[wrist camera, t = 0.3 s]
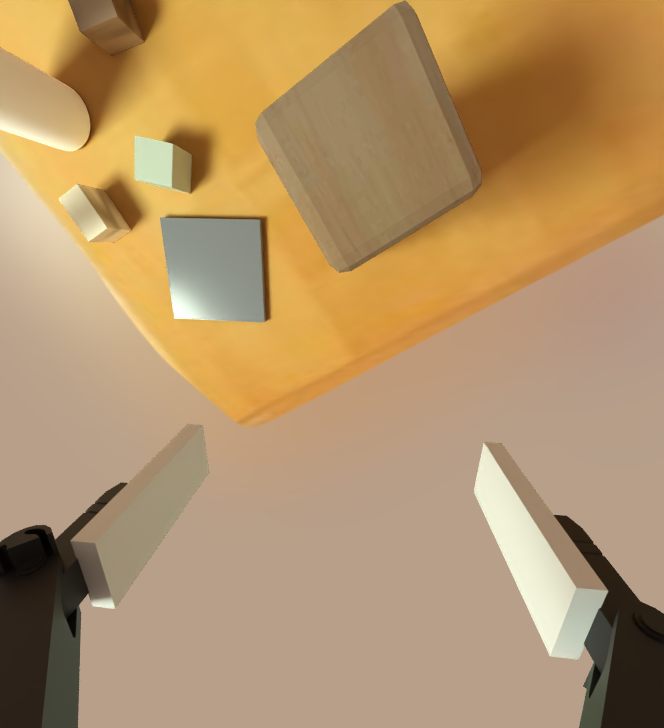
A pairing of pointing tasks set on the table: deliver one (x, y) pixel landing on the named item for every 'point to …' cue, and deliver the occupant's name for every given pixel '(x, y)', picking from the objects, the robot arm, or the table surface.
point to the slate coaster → (215, 268)
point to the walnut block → (108, 23)
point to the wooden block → (371, 142)
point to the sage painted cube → (162, 164)
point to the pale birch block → (94, 214)
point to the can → (40, 106)
